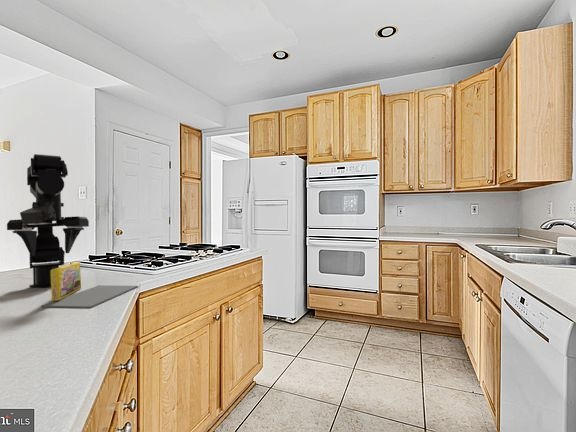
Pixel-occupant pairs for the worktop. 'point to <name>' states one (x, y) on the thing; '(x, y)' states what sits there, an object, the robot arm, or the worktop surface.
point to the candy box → (65, 281)
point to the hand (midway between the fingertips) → (50, 254)
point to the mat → (90, 297)
